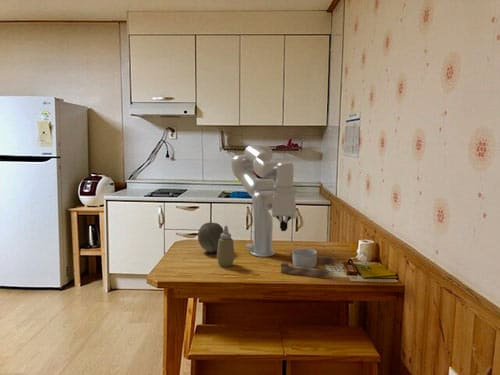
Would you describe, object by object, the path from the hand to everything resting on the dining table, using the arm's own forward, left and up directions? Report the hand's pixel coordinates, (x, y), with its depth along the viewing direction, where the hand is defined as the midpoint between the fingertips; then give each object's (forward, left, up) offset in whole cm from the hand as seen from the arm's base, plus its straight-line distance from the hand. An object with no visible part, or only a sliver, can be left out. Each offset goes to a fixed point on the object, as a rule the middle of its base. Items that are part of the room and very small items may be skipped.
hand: (283, 230), depth 175 cm
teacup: (+10, 0, -16) cm, 19 cm away
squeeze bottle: (-24, -10, -16) cm, 31 cm away
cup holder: (+12, 0, -16) cm, 20 cm away
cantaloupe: (-39, +7, -16) cm, 43 cm away
